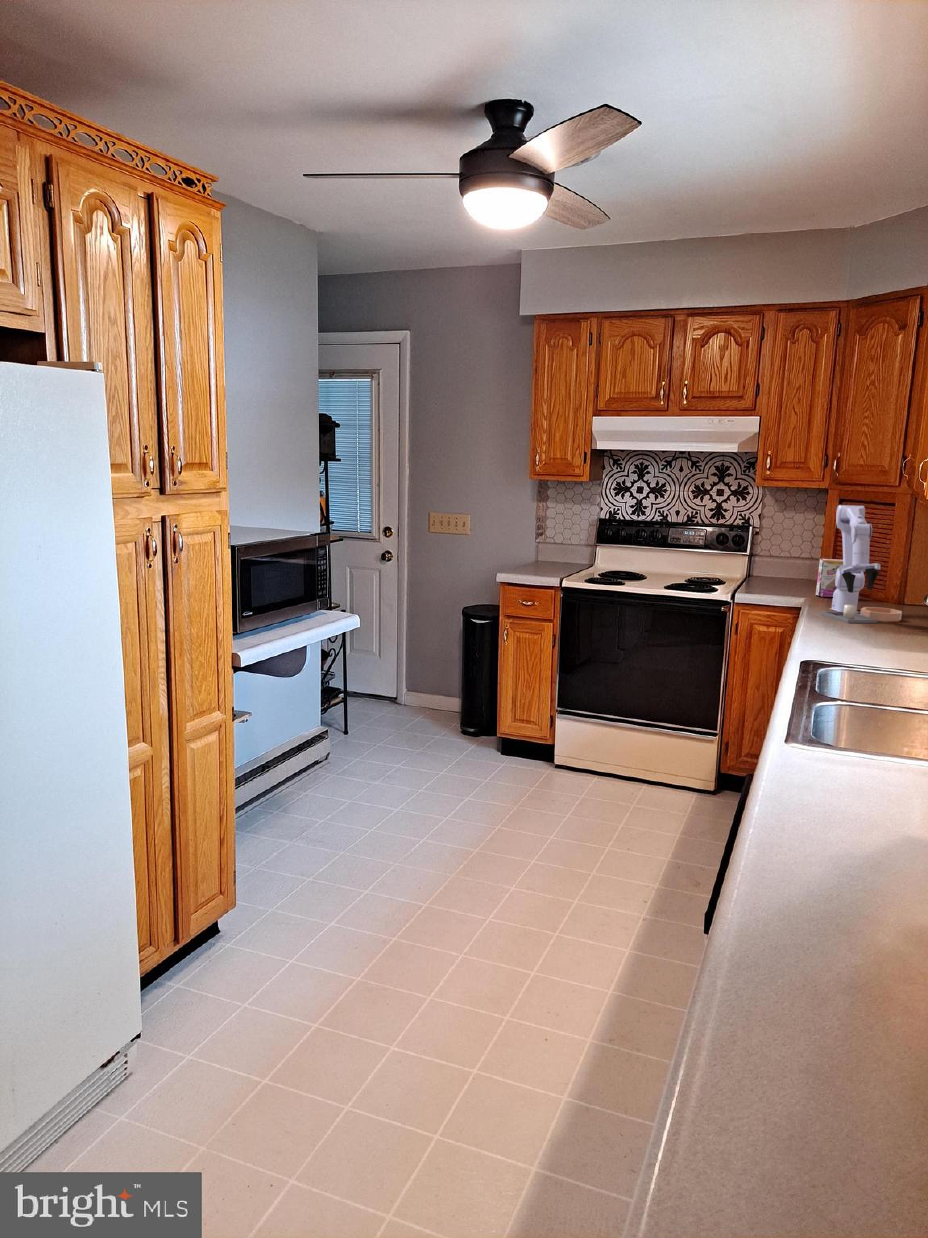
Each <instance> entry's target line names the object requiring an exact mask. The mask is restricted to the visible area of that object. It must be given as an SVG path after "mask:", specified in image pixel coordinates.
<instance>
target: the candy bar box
mask: <svg viewBox="0 0 928 1238" xmlns="http://www.w3.org/2000/svg"><path fill="white" fill-rule="evenodd" d="M818 563H819V564H818V572H817V573H818V574H817V581H816V589H815V596H816V595H818V596H821V597H820V598H824V597H833V593H834V591H835V590H836V589H838V588H837V587H836V585H835V579H836V572H837V570H838V568H839V567H841V566H843V559H836V558H835V559H831V558H819V562H818Z"/></svg>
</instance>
